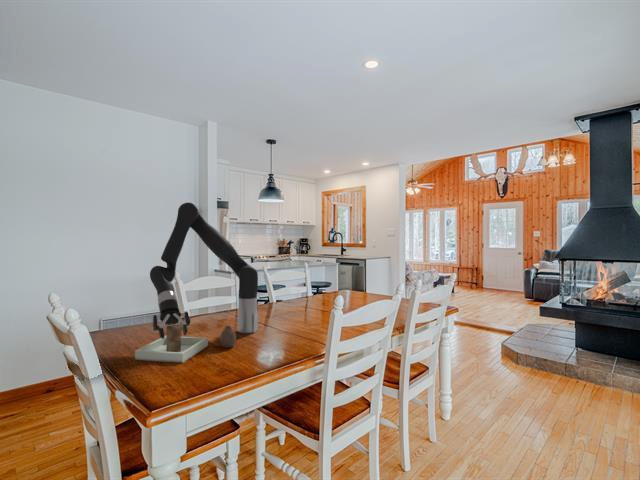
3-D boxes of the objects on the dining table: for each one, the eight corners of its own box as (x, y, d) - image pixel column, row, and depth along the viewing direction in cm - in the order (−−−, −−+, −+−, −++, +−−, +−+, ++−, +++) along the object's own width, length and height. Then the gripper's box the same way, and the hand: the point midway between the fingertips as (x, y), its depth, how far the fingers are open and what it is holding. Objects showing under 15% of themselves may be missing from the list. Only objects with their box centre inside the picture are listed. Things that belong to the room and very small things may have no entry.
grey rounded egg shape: (239, 344, 148) (239, 325, 148) (230, 349, 142) (230, 329, 142) (226, 343, 151) (226, 323, 151) (216, 347, 144) (216, 327, 144)
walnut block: (178, 348, 141) (178, 324, 141) (180, 351, 138) (181, 326, 138) (166, 350, 139) (166, 325, 139) (168, 353, 135) (169, 328, 135)
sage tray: (207, 345, 147) (207, 337, 146) (182, 362, 127) (182, 353, 127) (165, 343, 149) (165, 335, 149) (135, 359, 130) (135, 350, 130)
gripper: (151, 300, 140) (157, 334, 130) (186, 296, 148) (194, 328, 139) (149, 310, 144) (154, 343, 135) (183, 306, 152) (190, 337, 143)
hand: (174, 335), depth 137 cm, fingers open, 8 cm apart
